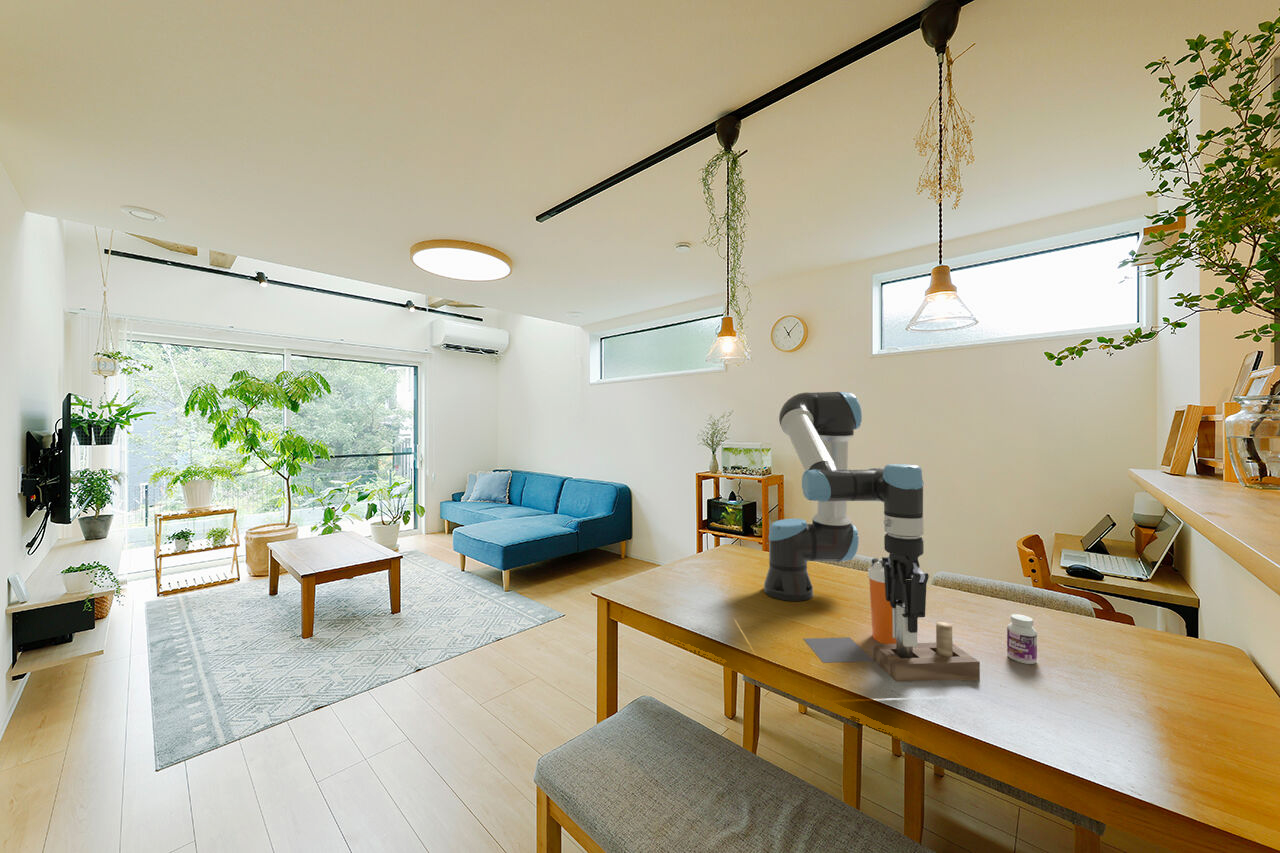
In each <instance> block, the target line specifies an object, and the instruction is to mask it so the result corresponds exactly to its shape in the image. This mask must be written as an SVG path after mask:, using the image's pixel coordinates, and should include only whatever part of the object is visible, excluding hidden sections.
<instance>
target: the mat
mask: <svg viewBox="0 0 1280 853" xmlns="http://www.w3.org/2000/svg"><path fill="white" fill-rule="evenodd" d="M803 641H804V642H805V643H806V644H807V645H808V646H809V648H810V649H811V650H812V651H813V652H814V654H815V655H816V656H817V657H818V659H819V660H820V661H821V663H823V664H826V663H827V664H829V663H830V664H831V663H861V662H863V663H864V662H875V661H874V658H873V657H871V656H870V654H868V653H867V652H866V651H865V650H864V649H863V648H862V647H861V646H860V645H858V644H857V643H856V642H855V641H854V640H853V639H852V638H851V637H849V636H848V637H846V636H845V637H818V638H817V637H815V638H813V637H812V638H811V637H810V638H803Z"/></svg>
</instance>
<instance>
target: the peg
mask: <svg viewBox="0 0 1280 853" xmlns="http://www.w3.org/2000/svg"><path fill="white" fill-rule="evenodd" d="M902 614H905V606H904V603H897V604H896V655H898V656H899V657H900V658H913V646H908V647H905V646H904V645H903V616H902Z"/></svg>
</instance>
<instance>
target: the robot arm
mask: <svg viewBox="0 0 1280 853" xmlns="http://www.w3.org/2000/svg"><path fill="white" fill-rule="evenodd" d="M862 419H863V414H862V408H861V404H860V402H859V400H858V398H857V396H856V395H855V394H854V393H851V392H848V391H847V392H846V391H826V392H825V391H823V392H821V391H820V392H801V393H797V394H794V395H792V396H791V397H790V398H789V399H787V401H786V402H784V404H783V405H782V407H781V409H780V412H779V417H778V420H779V425H780V427H781V429H782V430H781V431H782V432H783V433H784V434H785V435H786V436H788V437H789V439H790V442H791V444H792V445H793V448H794V450H795V453H796V454H797V457H798V459H799V461H800V463H801V465H802V467H803V470H804V472H803V473H802V476H801V489H802V494H803V497H804V498H805V499H806V500H808V501H813V502H814V501H815V502H817V513H815V514H814V515H813V516H812V517H811V518H812V523H807V521H806V520H805V519H802V518H784V519H779V520H776V521H774V522H772V523H771V524H770V526H769V529H768V530H769V531H768V543H769V544H768V547H769V548H768V549H769V552H768V556H769V559H768V560H769V561H768V563H769V568H768V570H767V574H766V576H765V580H764V583H763V591H764V593H765V594H766V595H767V596H769V597H771V598H773V599H778V600H781V601H789V602H790V601H791V602H802V601H806V600H807V601H808V600H810V599H812V597H813V596H814V587H813V584H812V581H811V578H810V575H809V572H808V562H836V563H839V562H847V561H848V562H849V561H851V560H852V559H854V558H855V556H856V554H857V552H858V548H859V536H858V534H859V532H858V529H857V527H856V526H855V525H854V524H852V519H851V518H850V517H848V515H847V509H848V508H847V503H848V502H882V503H883V510H884V511H883V514H884V518H883V525H884V532H885V534H884V541H883V542H884V551H886V552H887V553H888V554H889V555H888V556H882V558H881V559H882V561H883V566H884V578H885V596H886V600H887V601H889V602H890V605H891V607H892V618H893V638H895V639H896V604H897V603H904V606H905V614H902V616H903V645H904V646H905V647H908V646H917V643H918V620H919V619H918V618H926V606H927V605H926V604H927V603H926V602H927V601H926V600H927V583H928V581H929V578H930V576H929V573H928V572H923V571H922V570H921V568H920V563H919V557H921V556H922V555H923V554H924V538H923V537H922V536H923V535H924V534H925V533H924V531H925V530H924V480H923V470H922V468H921V467H920V466H919V465H917V464H910V463H909V464H906V463H905V464H904V463H892V464H891V463H890V464H886V465H885V466H884V467H883V468H880V467H878V468H868V469H848V463H849V462H848V458H849V454H848V453H849V440H850V439H852V438H853V436H854V431H855V430H857V429H859V428H860V427H861V425H862V424H861V423H862ZM906 579H908V580H906ZM890 594H891V596H890Z"/></svg>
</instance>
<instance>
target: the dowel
mask: <svg viewBox="0 0 1280 853" xmlns="http://www.w3.org/2000/svg"><path fill="white" fill-rule="evenodd" d="M935 633H936V636H935V637H936V638H935V640H936V642H935V643H936V653H937V654H938V655H939V656H941V657H953V648H952V644H953V625H952V624H950V623H947V622H943V621H938V622H936V623H935Z"/></svg>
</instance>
